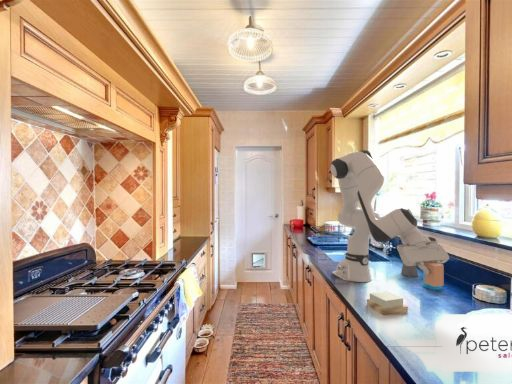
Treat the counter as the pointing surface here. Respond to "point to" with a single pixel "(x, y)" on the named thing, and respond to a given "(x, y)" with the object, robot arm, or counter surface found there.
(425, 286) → the mug
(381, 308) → the tower base
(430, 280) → the tall block
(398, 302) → the tower top
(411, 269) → the coffeepot
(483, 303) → the counter surface
